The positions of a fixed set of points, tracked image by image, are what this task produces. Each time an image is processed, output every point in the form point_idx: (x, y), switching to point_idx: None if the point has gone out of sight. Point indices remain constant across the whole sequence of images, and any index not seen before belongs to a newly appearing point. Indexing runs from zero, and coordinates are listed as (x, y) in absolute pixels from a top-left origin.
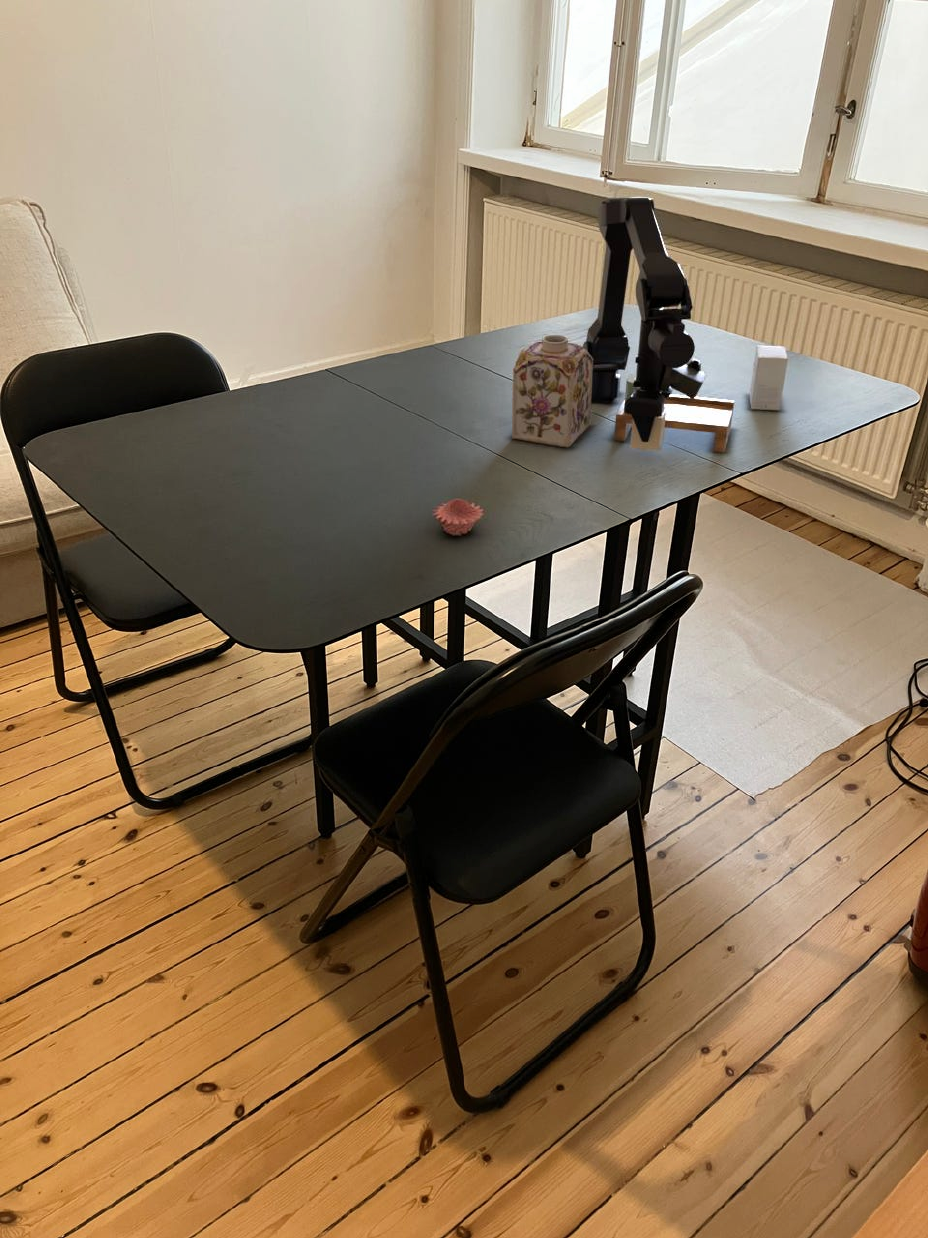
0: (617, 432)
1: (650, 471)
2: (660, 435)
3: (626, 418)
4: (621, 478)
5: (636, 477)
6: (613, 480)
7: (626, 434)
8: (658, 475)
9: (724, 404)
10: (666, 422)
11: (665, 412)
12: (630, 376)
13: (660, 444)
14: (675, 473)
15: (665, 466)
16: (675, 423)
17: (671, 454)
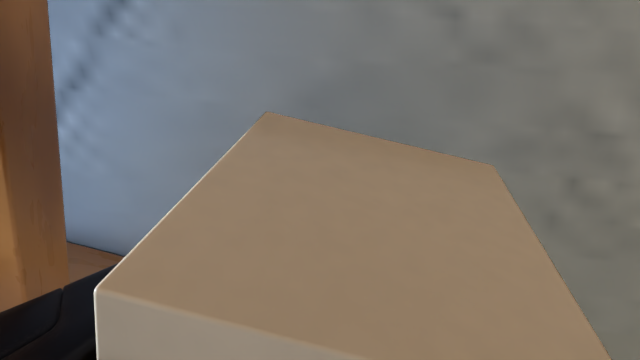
0: None
1: (541, 171)
2: (535, 236)
3: None
4: (617, 321)
5: (619, 252)
6: (636, 356)
7: (88, 262)
8: (613, 128)
9: None
10: (18, 92)
11: (234, 292)
12: None
13: (441, 163)
14: (599, 7)
15: (468, 71)
16: (6, 2)
17: (266, 15)
